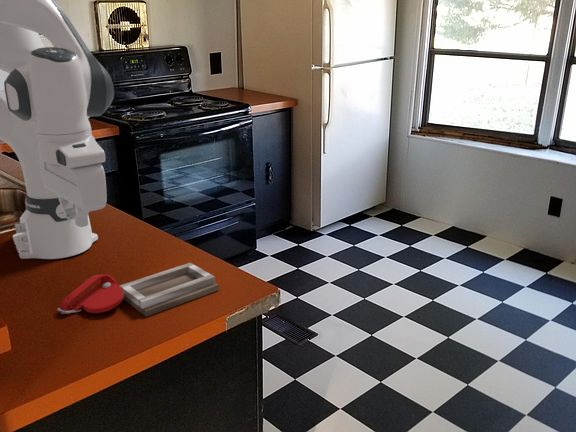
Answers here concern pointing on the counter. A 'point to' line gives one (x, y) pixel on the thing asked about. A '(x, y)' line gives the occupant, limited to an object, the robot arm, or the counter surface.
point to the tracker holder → (94, 296)
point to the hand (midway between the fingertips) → (76, 221)
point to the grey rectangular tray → (168, 289)
